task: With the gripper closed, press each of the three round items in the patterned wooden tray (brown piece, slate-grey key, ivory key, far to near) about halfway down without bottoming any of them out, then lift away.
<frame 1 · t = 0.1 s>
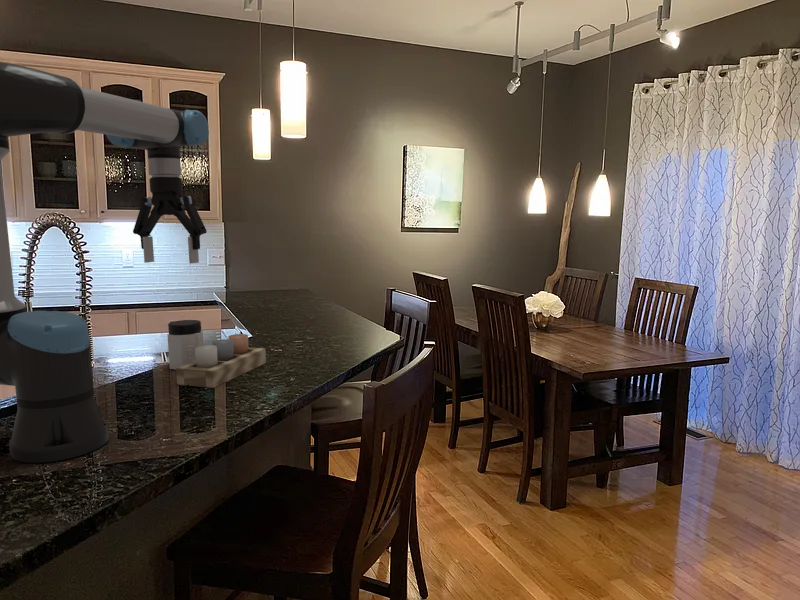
hand: (171, 262, 152), 28 cm above the countertop, fingers open, 13 cm apart
patterned wooden tray: (224, 373, 153), on the countertop
key slate: (223, 351, 152), point 6 cm above the countertop, slide at 0.0 cm
brown piece: (238, 345, 159), point 6 cm above the countertop, slide at 0.0 cm
jar: (187, 367, 160), on the countertop
key ivory: (206, 357, 146), point 6 cm above the countertop, slide at 0.0 cm
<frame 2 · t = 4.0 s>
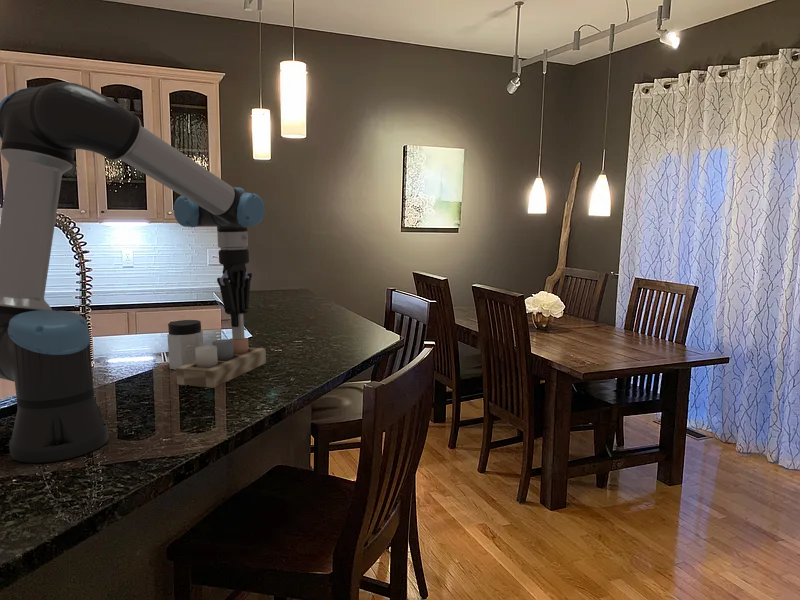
hand: (238, 338, 159), 8 cm above the countertop, fingers closed
brown piece: (238, 348, 159), point 5 cm above the countertop, slide at 0.9 cm, touching gripper
everything else where it was.
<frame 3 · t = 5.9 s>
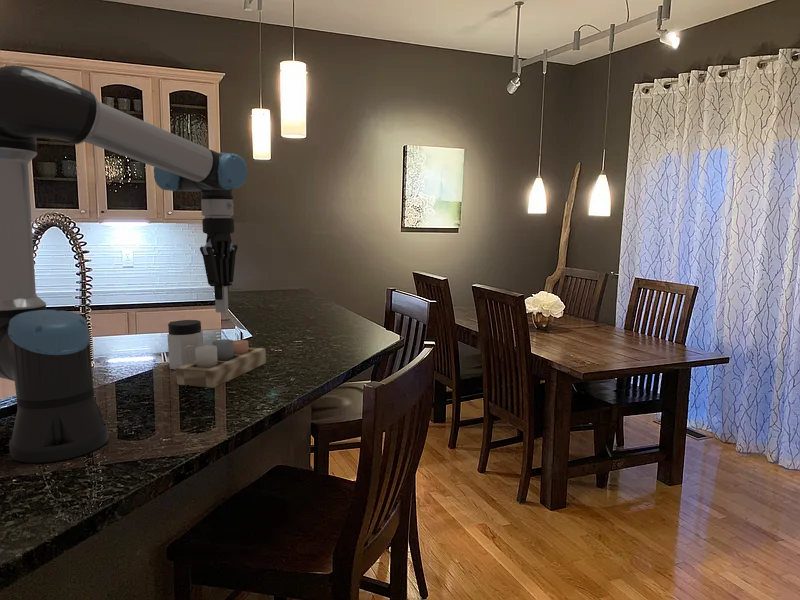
hand: (222, 312, 152), 16 cm above the countertop, fingers closed
brown piece: (238, 351, 159), point 4 cm above the countertop, slide at 1.6 cm
everything else where it was.
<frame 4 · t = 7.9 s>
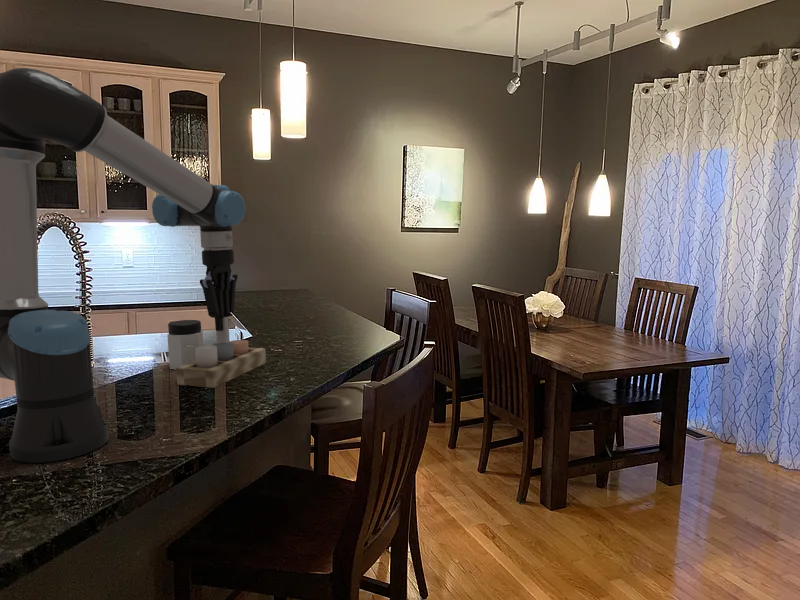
hand: (223, 342, 152), 8 cm above the countertop, fingers closed
key slate: (223, 353, 152), point 5 cm above the countertop, slide at 0.6 cm, touching gripper
everything else where it was.
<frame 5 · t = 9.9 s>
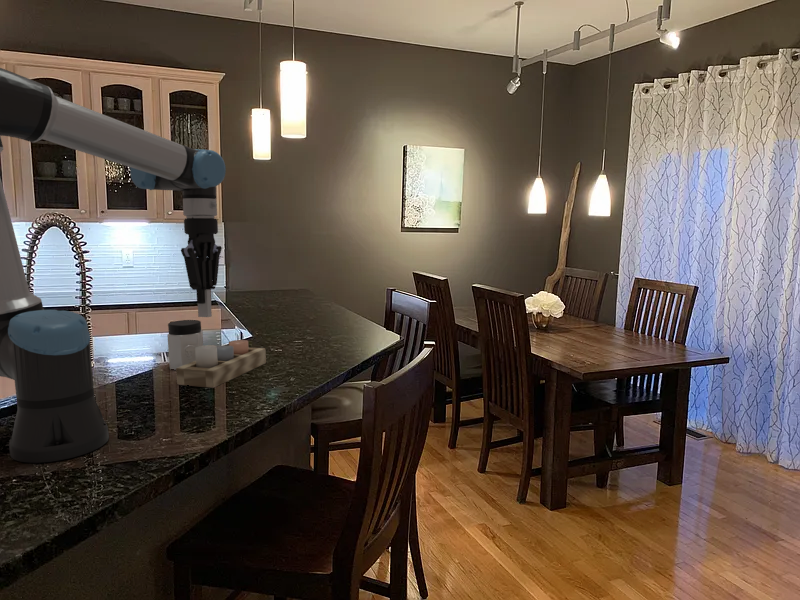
hand: (205, 316, 145), 16 cm above the countertop, fingers closed
key slate: (223, 357, 153), point 4 cm above the countertop, slide at 1.6 cm
everything else where it was.
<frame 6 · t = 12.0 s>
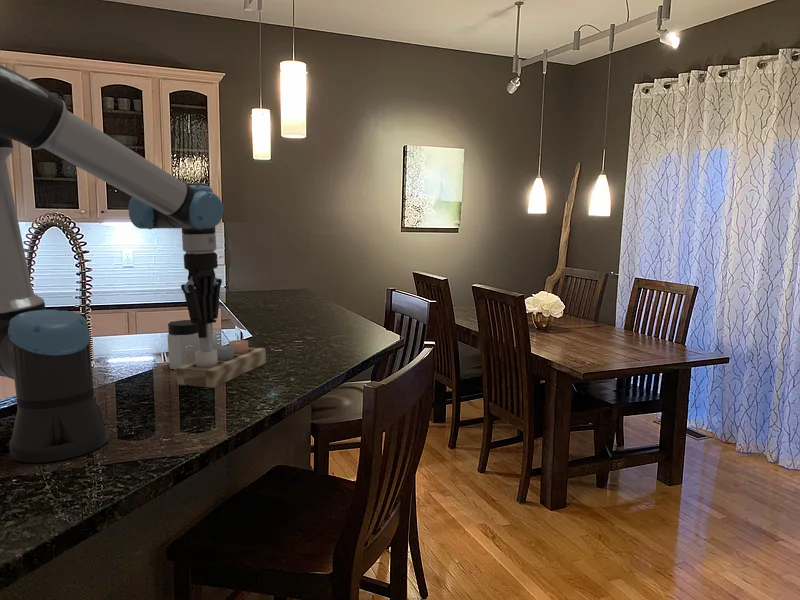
hand: (206, 350, 146), 8 cm above the countertop, fingers closed
key ivory: (206, 361, 146), point 5 cm above the countertop, slide at 0.9 cm, touching gripper
everything else where it was.
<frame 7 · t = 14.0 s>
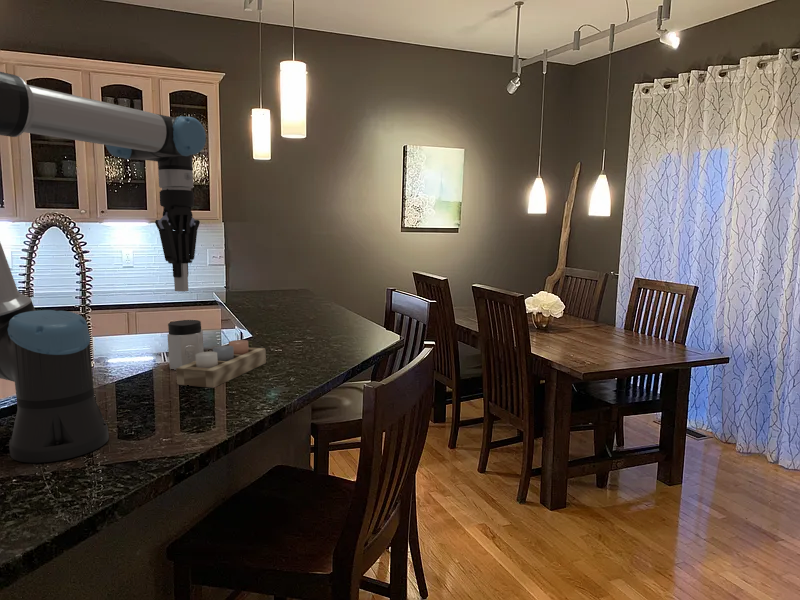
hand: (181, 291, 142), 22 cm above the countertop, fingers closed
key ivory: (207, 364, 146), point 4 cm above the countertop, slide at 1.6 cm
everything else where it was.
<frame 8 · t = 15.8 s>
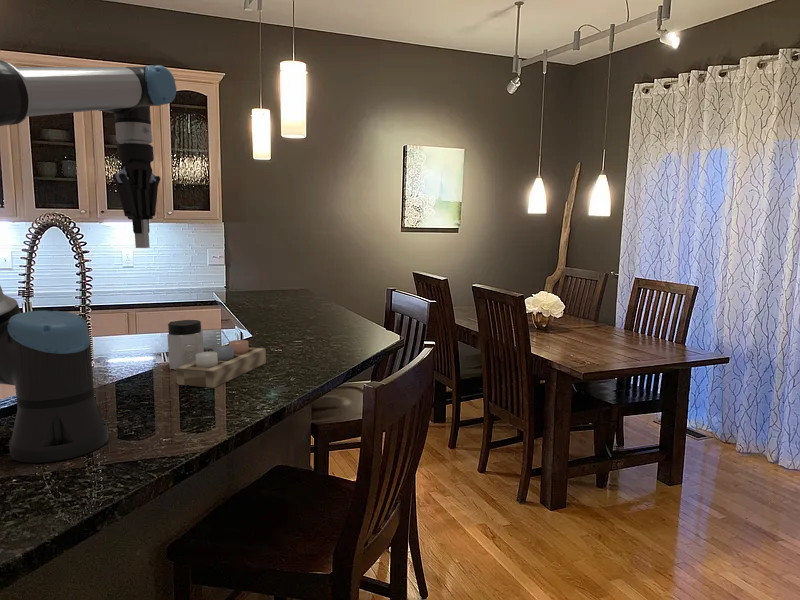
hand: (142, 247, 141), 32 cm above the countertop, fingers closed
nothing on the countertop moved.
at the end: brown piece slide at 1.6 cm; key slate slide at 1.6 cm; key ivory slide at 1.6 cm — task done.
